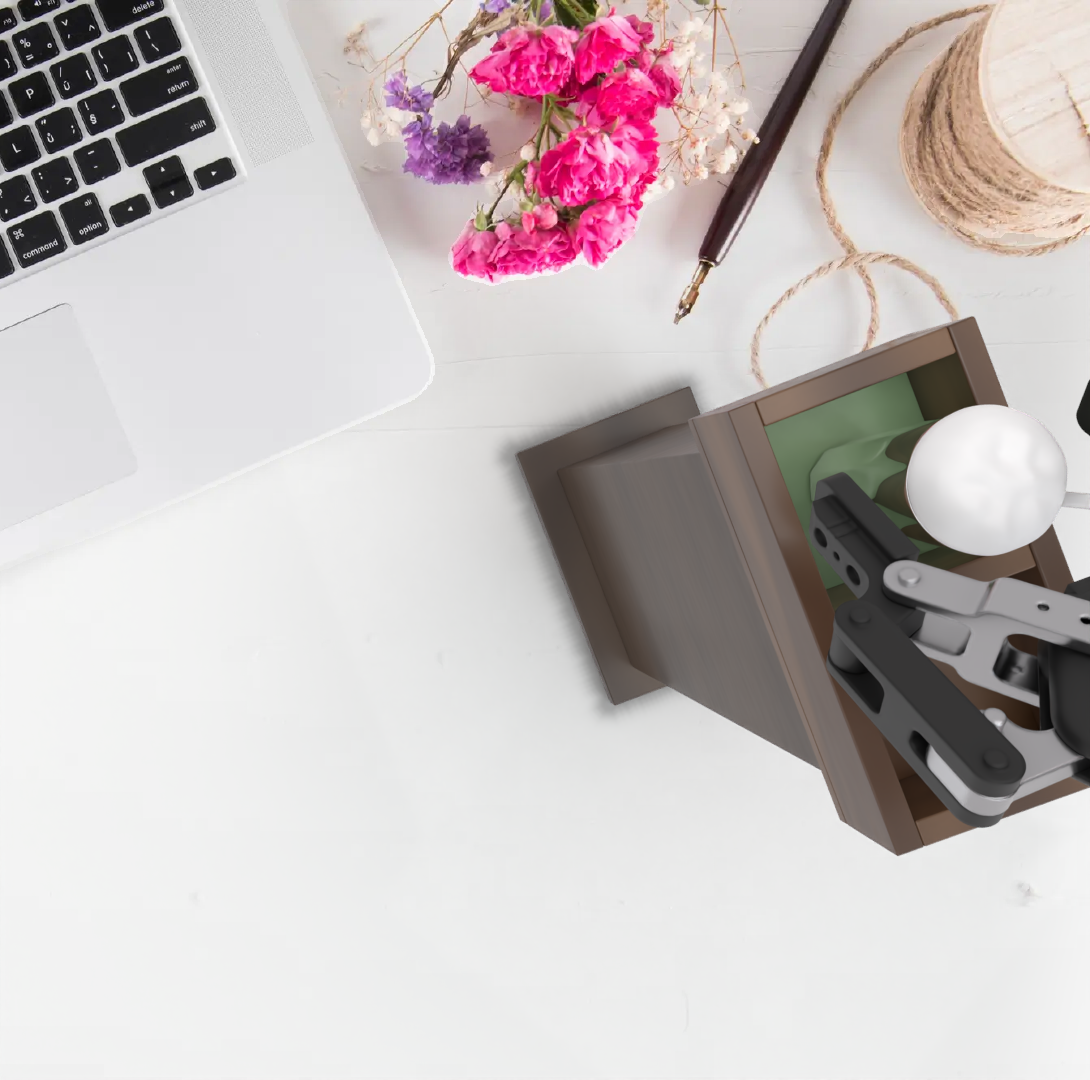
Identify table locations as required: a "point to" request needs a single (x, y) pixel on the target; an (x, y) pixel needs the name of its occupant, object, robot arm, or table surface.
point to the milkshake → (962, 478)
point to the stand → (659, 568)
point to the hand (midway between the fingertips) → (957, 443)
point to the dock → (816, 589)
